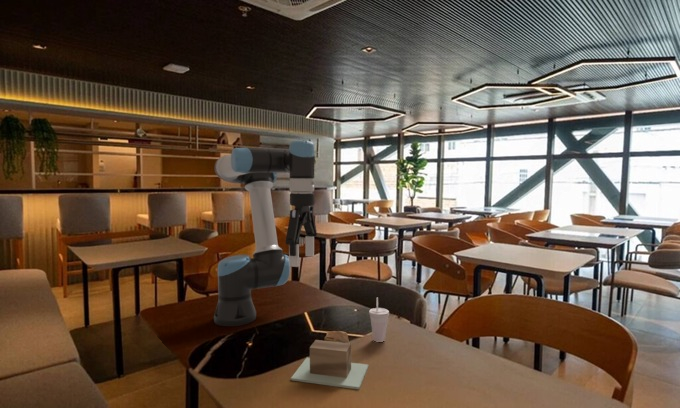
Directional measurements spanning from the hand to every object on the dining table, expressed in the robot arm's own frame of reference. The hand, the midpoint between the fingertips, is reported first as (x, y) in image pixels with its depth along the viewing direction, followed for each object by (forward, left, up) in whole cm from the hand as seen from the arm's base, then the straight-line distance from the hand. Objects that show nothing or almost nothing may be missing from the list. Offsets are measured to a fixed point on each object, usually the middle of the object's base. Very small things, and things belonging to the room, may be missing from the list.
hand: (302, 261), depth 120 cm
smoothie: (+22, +9, -27) cm, 36 cm away
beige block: (+13, -15, -26) cm, 33 cm away
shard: (+10, +7, -27) cm, 30 cm away
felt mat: (+13, -15, -27) cm, 33 cm away
